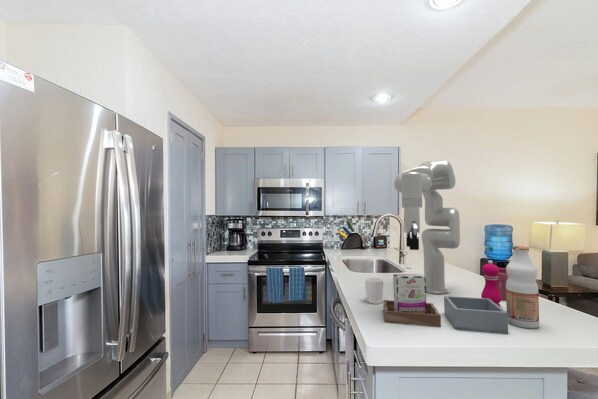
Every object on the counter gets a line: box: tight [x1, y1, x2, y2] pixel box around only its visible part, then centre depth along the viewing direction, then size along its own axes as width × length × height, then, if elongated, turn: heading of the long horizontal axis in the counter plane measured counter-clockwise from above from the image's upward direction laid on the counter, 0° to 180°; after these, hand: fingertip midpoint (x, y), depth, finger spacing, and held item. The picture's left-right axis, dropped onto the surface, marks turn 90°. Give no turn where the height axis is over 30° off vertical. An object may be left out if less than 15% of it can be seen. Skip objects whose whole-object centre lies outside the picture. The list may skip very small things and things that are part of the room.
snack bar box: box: [392, 273, 427, 314], centre depth 113 cm, size 11×5×16 cm, turn 90°
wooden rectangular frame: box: [382, 299, 442, 328], centre depth 113 cm, size 14×19×4 cm
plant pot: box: [497, 267, 508, 301], centre depth 138 cm, size 14×14×13 cm
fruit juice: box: [505, 245, 540, 329], centre depth 107 cm, size 9×9×28 cm
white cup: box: [364, 277, 384, 305], centre depth 133 cm, size 8×8×10 cm
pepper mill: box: [480, 259, 503, 307], centre depth 124 cm, size 7×7×20 cm
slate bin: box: [443, 295, 509, 335], centre depth 108 cm, size 16×16×7 cm
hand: (412, 248), depth 113 cm, fingers open, 9 cm apart
